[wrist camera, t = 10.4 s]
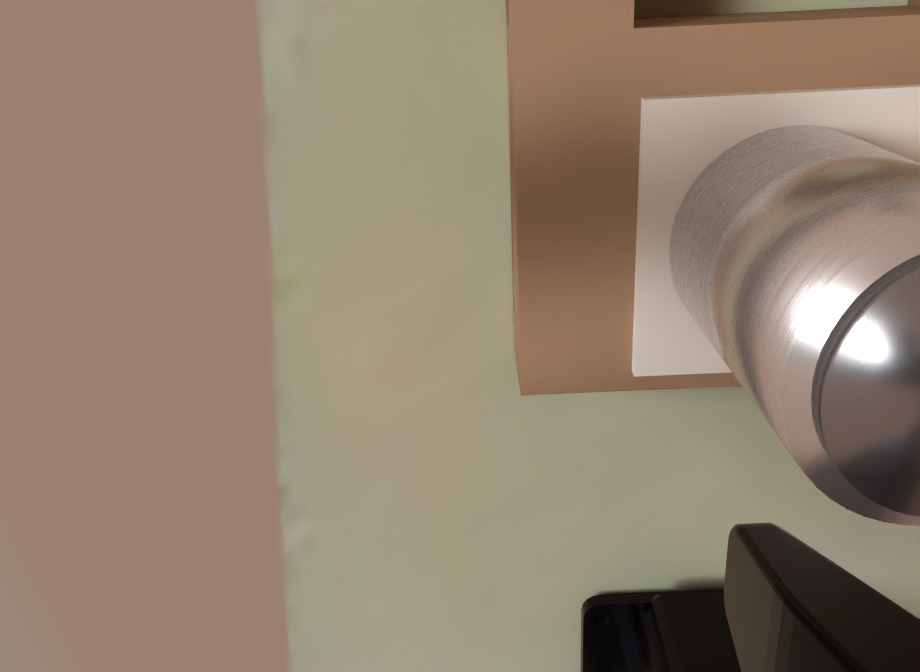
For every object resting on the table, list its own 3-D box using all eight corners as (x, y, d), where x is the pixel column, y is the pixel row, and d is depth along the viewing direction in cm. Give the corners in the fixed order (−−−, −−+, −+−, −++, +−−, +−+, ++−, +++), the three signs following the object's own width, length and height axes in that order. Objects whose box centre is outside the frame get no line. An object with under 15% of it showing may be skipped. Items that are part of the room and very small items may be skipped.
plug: (881, 346, 19) (1105, 537, 13) (661, 351, 19) (772, 546, 13) (921, 122, 17) (1208, 211, 11) (678, 127, 17) (818, 220, 11)
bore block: (950, 331, 22) (1015, 380, 19) (514, 349, 22) (521, 401, 20) (1109, -490, 16) (1237, -577, 13) (495, -453, 16) (502, -533, 13)
